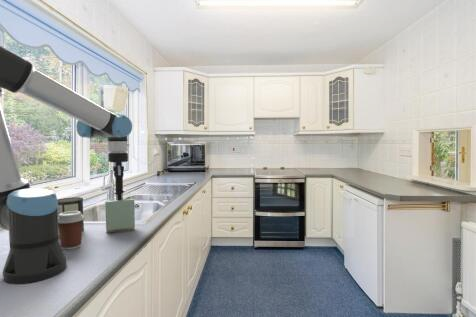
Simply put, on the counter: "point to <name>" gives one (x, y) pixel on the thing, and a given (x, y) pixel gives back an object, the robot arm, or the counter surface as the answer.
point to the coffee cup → (70, 229)
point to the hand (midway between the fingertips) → (119, 209)
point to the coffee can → (70, 206)
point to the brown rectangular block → (119, 230)
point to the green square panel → (120, 214)
